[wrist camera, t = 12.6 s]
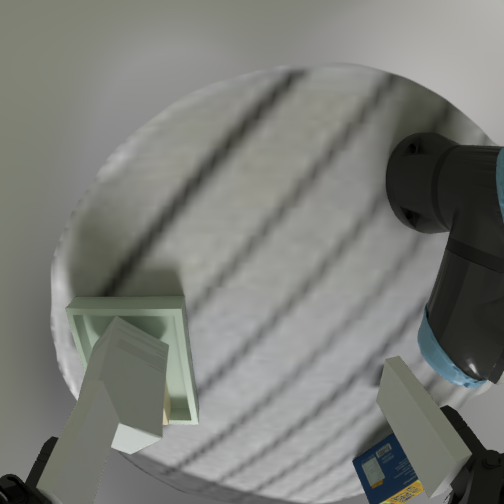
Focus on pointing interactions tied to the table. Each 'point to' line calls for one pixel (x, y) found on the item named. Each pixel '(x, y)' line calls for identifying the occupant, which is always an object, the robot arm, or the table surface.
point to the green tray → (153, 323)
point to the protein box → (387, 473)
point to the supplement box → (131, 382)
